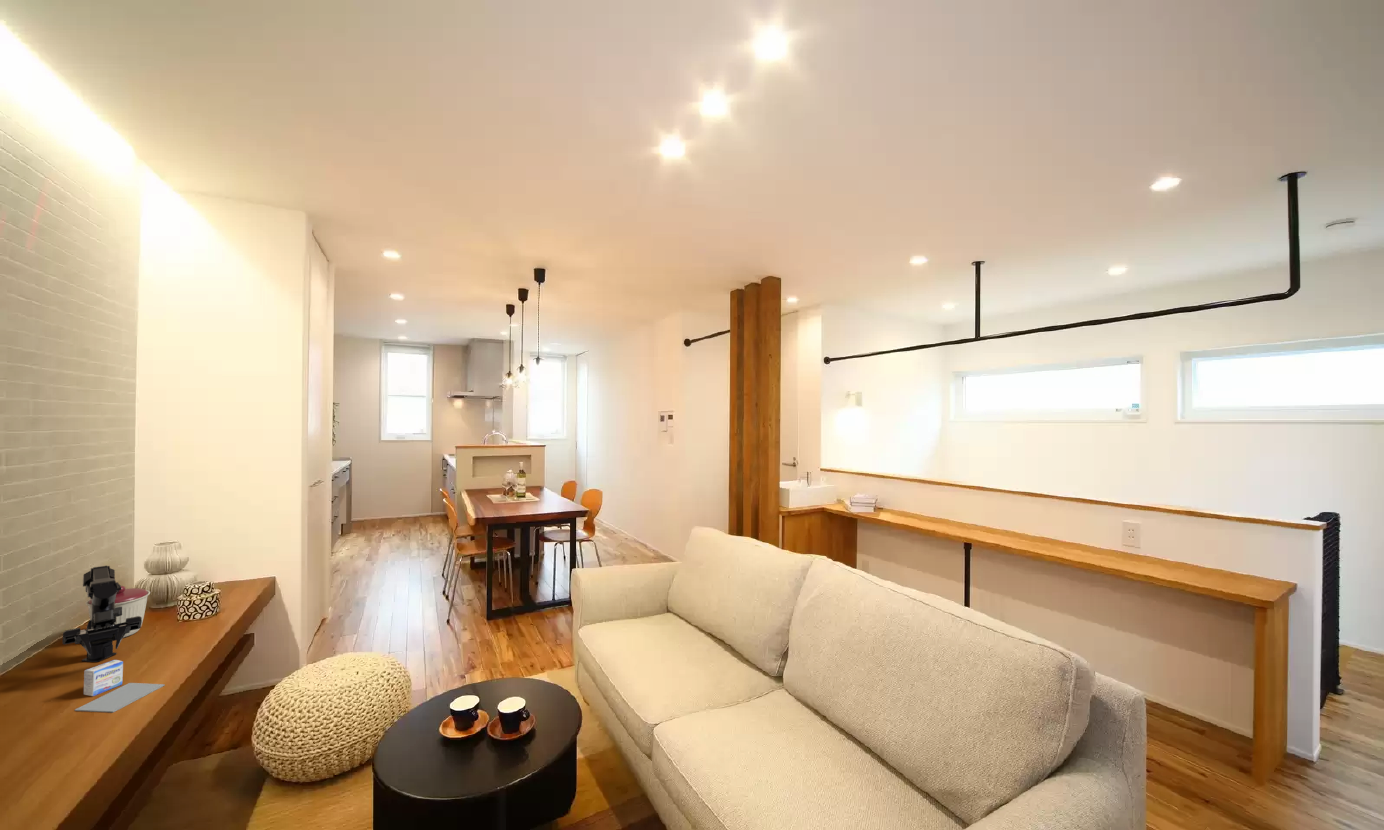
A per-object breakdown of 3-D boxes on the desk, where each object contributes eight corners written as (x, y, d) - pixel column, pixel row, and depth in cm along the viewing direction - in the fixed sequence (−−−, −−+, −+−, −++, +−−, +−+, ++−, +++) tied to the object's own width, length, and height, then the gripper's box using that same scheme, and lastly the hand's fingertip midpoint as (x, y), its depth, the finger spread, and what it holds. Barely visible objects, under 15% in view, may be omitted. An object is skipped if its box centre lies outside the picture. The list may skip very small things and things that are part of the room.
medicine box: (92, 696, 171) (93, 671, 170) (82, 694, 171) (83, 669, 171) (122, 684, 178) (123, 660, 178) (113, 682, 179) (114, 658, 179)
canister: (81, 636, 211) (83, 586, 210) (144, 622, 225) (146, 576, 225) (87, 649, 200) (88, 597, 200) (152, 634, 215) (154, 585, 215)
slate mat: (74, 710, 163) (74, 709, 163) (129, 683, 179) (129, 682, 179) (112, 712, 163) (112, 711, 163) (164, 685, 179) (164, 684, 179)
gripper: (63, 608, 176) (62, 650, 169) (142, 594, 191) (143, 632, 184) (63, 623, 181) (61, 664, 174) (139, 609, 196) (141, 646, 189)
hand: (103, 651), depth 180 cm, fingers open, 6 cm apart
